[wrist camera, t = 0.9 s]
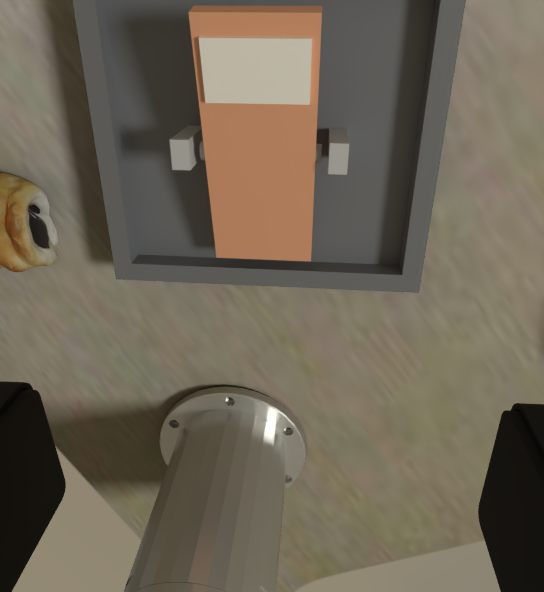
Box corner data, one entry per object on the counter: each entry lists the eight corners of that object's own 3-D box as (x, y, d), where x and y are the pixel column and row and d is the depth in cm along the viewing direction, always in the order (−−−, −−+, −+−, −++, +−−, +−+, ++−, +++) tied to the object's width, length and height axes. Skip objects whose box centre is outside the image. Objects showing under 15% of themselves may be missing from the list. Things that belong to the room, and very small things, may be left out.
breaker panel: (411, 272, 35) (426, 313, 30) (130, 260, 37) (100, 298, 32) (457, -36, 27) (488, -50, 22) (90, -35, 28) (39, -47, 23)
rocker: (316, 250, 33) (315, 264, 32) (214, 246, 33) (210, 259, 32) (328, 5, 23) (328, 14, 22) (187, 5, 24) (180, 13, 23)
